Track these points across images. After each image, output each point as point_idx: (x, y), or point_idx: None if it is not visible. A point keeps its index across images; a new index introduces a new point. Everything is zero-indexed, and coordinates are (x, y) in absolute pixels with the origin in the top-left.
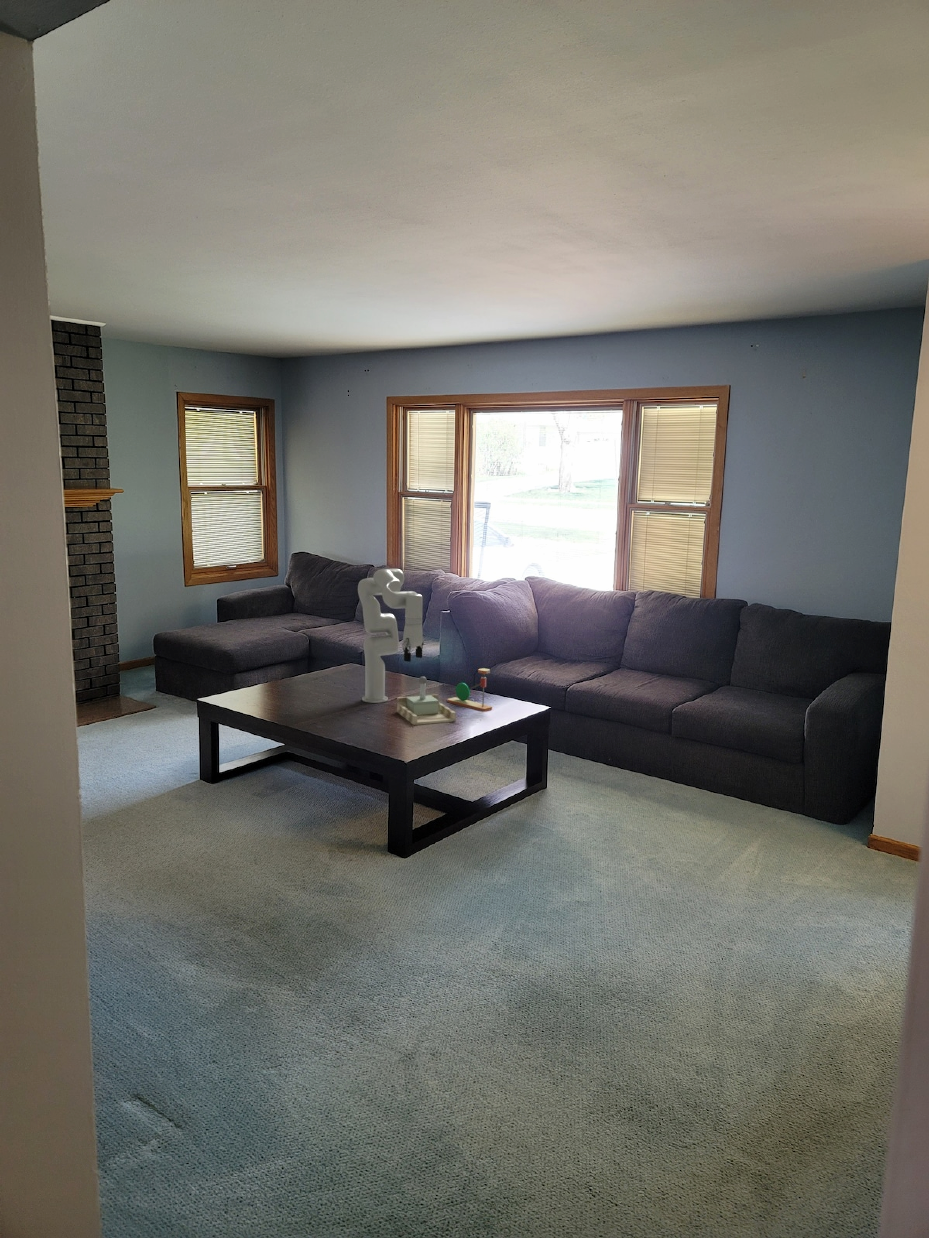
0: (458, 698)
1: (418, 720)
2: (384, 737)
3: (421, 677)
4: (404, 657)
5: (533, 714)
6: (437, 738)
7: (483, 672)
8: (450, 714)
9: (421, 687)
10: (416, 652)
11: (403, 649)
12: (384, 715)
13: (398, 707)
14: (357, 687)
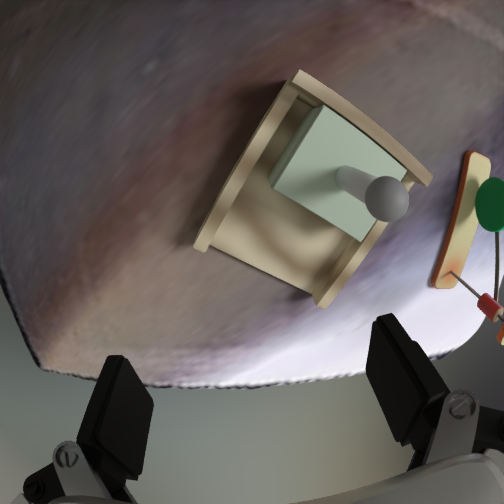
0: (486, 176)
1: (229, 229)
2: (61, 256)
3: (385, 202)
4: (100, 386)
5: (436, 355)
6: (158, 348)
7: (498, 337)
8: (323, 287)
9: (356, 191)
10: (397, 369)
11: (34, 480)
12: (218, 75)
13: (282, 89)
14: None
